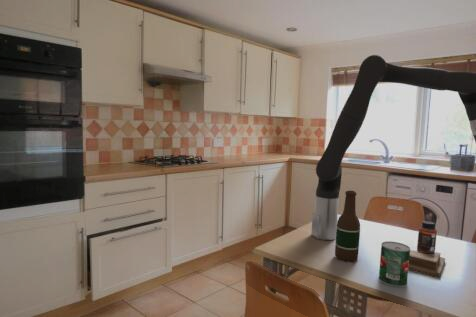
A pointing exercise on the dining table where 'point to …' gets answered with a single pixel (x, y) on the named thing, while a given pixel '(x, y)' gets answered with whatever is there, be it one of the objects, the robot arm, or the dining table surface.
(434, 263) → the walnut dock
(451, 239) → the dining table surface
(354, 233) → the beer bottle
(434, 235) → the supplement bottle
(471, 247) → the dining table surface
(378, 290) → the dining table surface
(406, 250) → the canned tomato
